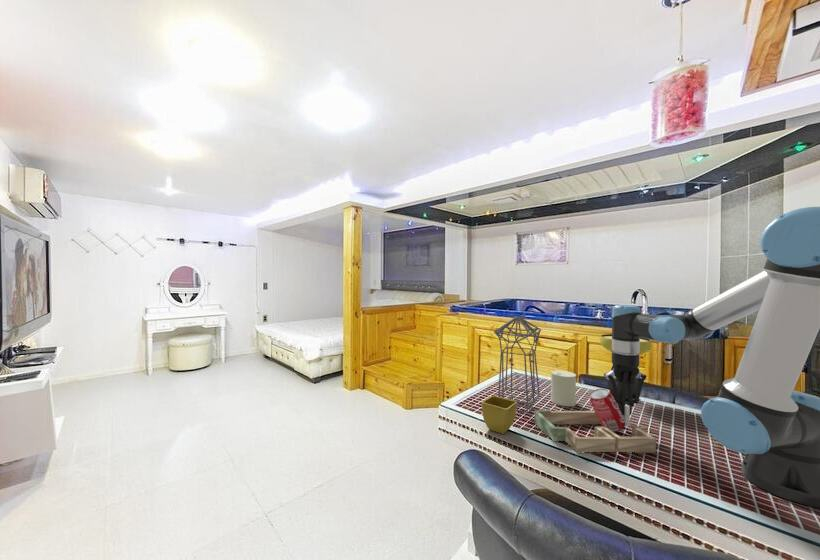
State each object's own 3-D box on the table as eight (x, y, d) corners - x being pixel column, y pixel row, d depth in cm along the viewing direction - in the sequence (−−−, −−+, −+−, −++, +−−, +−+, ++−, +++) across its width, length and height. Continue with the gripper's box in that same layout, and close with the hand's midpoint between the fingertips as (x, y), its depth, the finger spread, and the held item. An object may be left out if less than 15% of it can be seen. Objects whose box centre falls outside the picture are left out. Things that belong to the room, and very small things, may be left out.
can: (545, 399, 129) (545, 370, 129) (561, 396, 133) (561, 368, 133) (565, 408, 121) (565, 376, 121) (581, 404, 125) (581, 374, 125)
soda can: (618, 417, 106) (603, 384, 106) (632, 427, 99) (615, 393, 98) (598, 425, 106) (583, 393, 106) (610, 436, 99) (594, 402, 99)
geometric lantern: (537, 419, 110) (535, 319, 110) (492, 410, 118) (491, 317, 119) (544, 404, 124) (542, 315, 124) (503, 397, 132) (502, 313, 132)
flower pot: (492, 420, 109) (492, 394, 109) (517, 428, 103) (517, 401, 103) (480, 430, 102) (480, 402, 102) (506, 438, 96) (507, 409, 96)
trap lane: (664, 452, 90) (664, 436, 90) (564, 453, 88) (564, 437, 88) (617, 422, 109) (617, 409, 109) (534, 422, 107) (534, 409, 107)
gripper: (635, 349, 107) (635, 419, 107) (598, 349, 106) (598, 419, 106) (653, 355, 99) (652, 429, 99) (613, 355, 99) (613, 430, 99)
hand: (624, 424), depth 103 cm, fingers closed
